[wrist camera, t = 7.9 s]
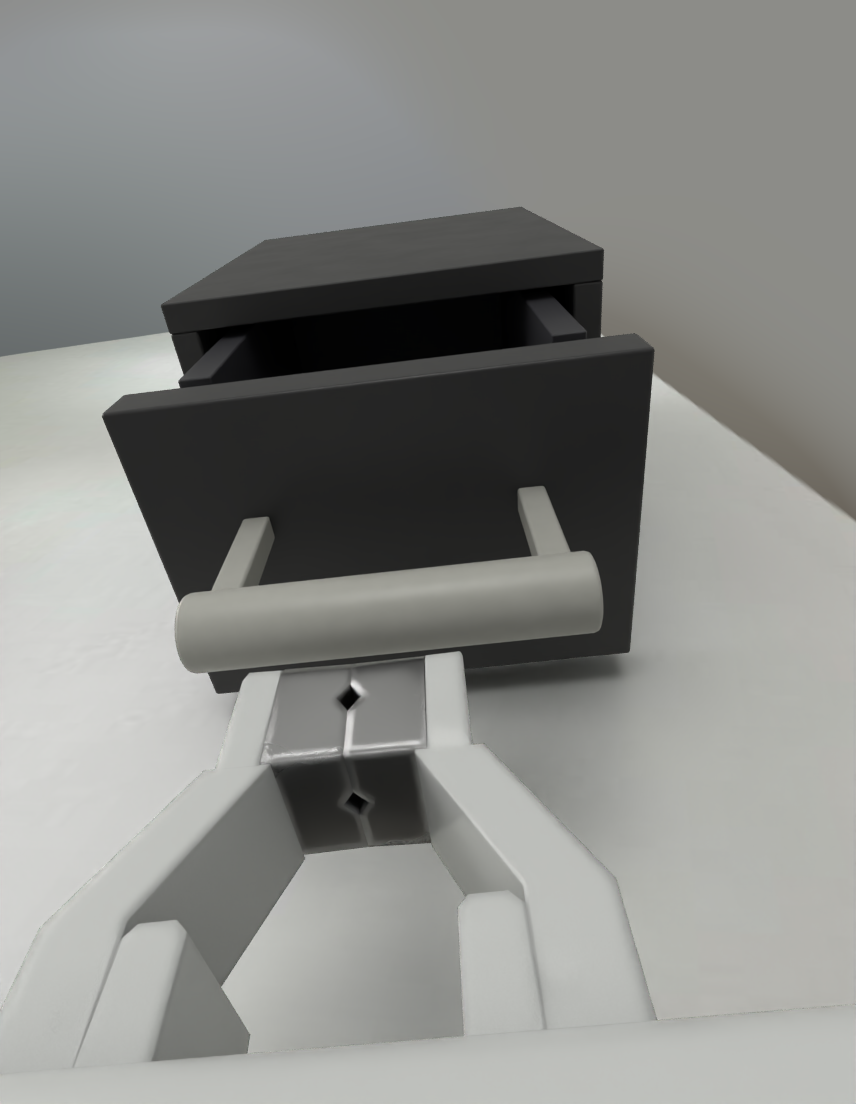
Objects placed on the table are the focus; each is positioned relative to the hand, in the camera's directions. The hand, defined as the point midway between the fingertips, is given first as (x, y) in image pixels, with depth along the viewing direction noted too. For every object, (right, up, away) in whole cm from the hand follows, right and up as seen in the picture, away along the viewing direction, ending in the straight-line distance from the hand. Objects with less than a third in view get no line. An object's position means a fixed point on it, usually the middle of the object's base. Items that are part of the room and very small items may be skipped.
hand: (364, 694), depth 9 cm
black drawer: (+1, +1, +11) cm, 11 cm away
